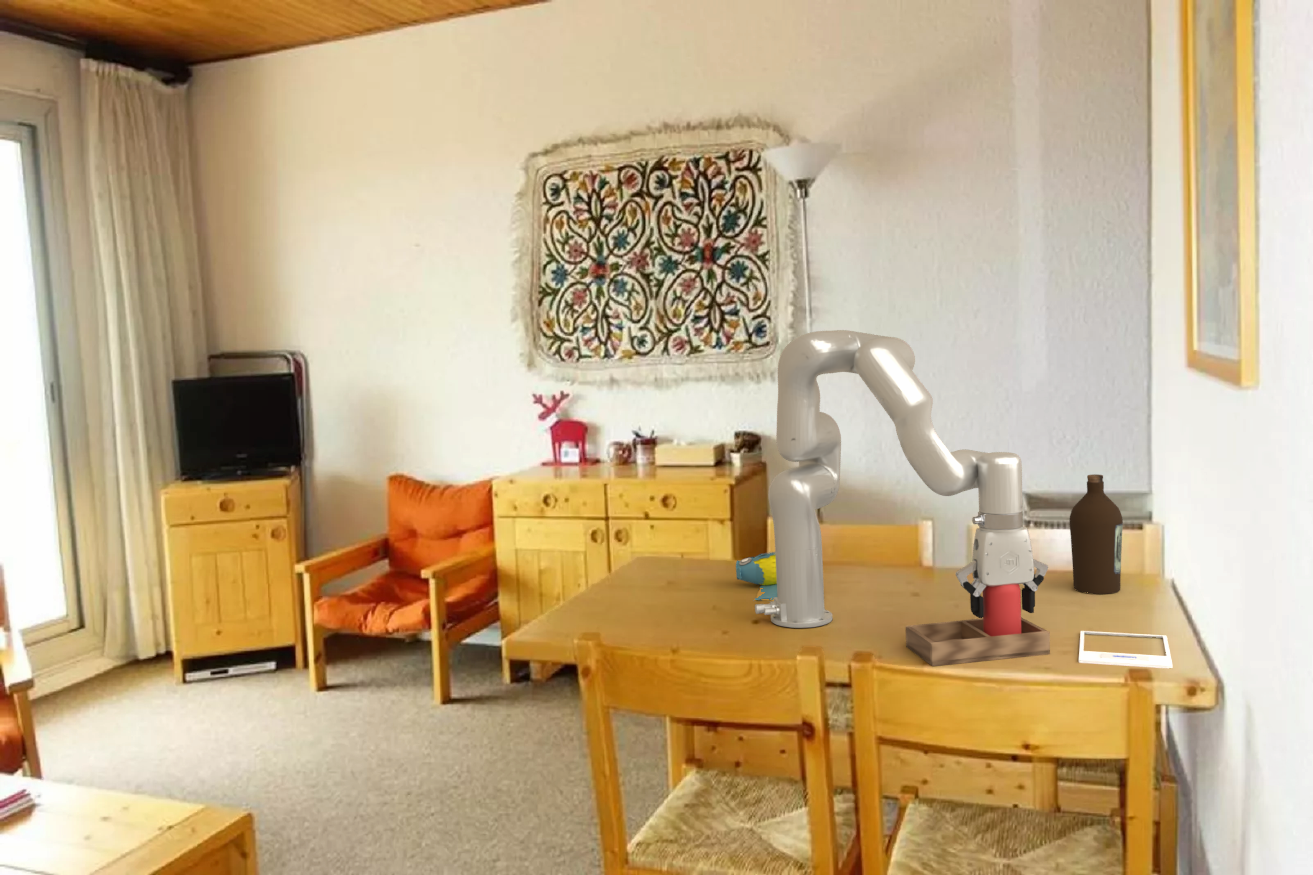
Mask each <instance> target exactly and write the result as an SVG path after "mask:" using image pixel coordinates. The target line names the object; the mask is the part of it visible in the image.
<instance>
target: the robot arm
mask: <svg viewBox="0 0 1313 875" xmlns="http://www.w3.org/2000/svg"><path fill="white" fill-rule="evenodd" d="M915 365H916V356H915V353H914V350H913V349H912V347H911V345H910V344H908V343H907V342H906V341H905V340H904V339H901V338H898V337H894V336H885V335H879V334H874V333H867V332H859V331H854V330H847V329H845V330H844V329H837V330H818V331H812V332H807V333H804V334H801V335H799V336H796V337H795V338H793V339H792V340H791V341H790V342H788V343H787V344H786V345H785V347H784V349H783V350H782V351H781V353H780V356H779V358H778V364H777V406H776V407H777V408H776V432H775V433H776V436H775V438H776V448H777V451H778V453H779V456H781V458H782V459H784V460H785V461H789V462H793V463H797V462H798V466H795V467H792V468H787V469H785V470H783V471H781V472H779V473H778V474H776V475H775V477H773V479H772V481H771V482H770V484H769V487H768V502H769V507H770V513H771V517H772V522H773V533H774V535H773V536H774V550H775V551H774V554H776V576H777V597H775V598H774V601H769V603H765V604H764V603H760V604H759V603H757V604H754V611H755V614H756V615H759V614H763V615H765V616H767V615H768V616H770V621H771V622H772V623H773V624H774V625H777V626H780V627H785V628H791V629H794V628H795V629H805V628H806V629H808V628H815V627H821V626H825V625H827V624H829V623H831V622H832V621H833V613H832V612H831V611H829V610H828V609H825V593H824V588H825V587H824V565H823V562H824V561H823V543H822V542H823V540H822V531H821V525H820V523H819V519H818V516H817V512H816V510H818V509H821V508H824V507H826V506H829V505H831V503H832V502H833V501H834V500H835V499H836V498H837V495H838V493H839V489H840V481H841V462H842V461H841V457H842V456H841V455H842V435H841V431H840V428H839V427H840V426H839V425H838V423H837V421H836V420H835V419H834V418H833V417H832V416H831V415H830V414H828V413H826V412H822V411H821V410H820V409H821V408H820V407H821V393H820V392H821V390H820V386H819V383H818V381H817V379H818V376H821V375H825V374H826V375H827V374H835V373H850V374H855V375H856V374H857V375H859V377H860V378H861V380H862V381H863V383H864V384H865V385H866V387H867V388H868V390H869V391H870V392H871V393H872V395H873V396H874V397H875V399H876V400H877V402H879V404H880V406H881V407H882V409H883V410H884V412H886V414H887V416H889V418H890V419H891V420H892V422H893V424H894V427H895V431H896V435H897V436H896V437H897V438H898V441H899V444H900V447H901V450H902V452H903V454H904V456H905V458H906V460H907V462H908V463H909V465H910V466H911V467H912V469H913V470H914V471H915V472H916V474H917V475H918V476H919V478H920V480H922V482H923V483H924V484H925V485H926V486H927V488H928V489H930V491H932V492H933V493H935V494H936V495H938V496H943V497H952V496H955V495H958V494H960V493H964V492H966V491H969V490H973V489H978V492H977V493H978V512H977V516H972V518H971V521H972V524H973V525H978V527H977V528H976V529H975V533H974V538H973V543H972V544H973V546H972V555H971V556H972V558H971V559H972V560H971V562H969V563H968V564H966V565H964V567H962V568H960V569H959V570H957V571H956V572H955V576H956V578H957V580H958V582H959V584H960V586H961V587H962V588H963V589H964V590H965V591H966V592H967V593H968V594H969V595H970V596H969V598H970V599H969V601H970V602H969V603H970V612H971V613H972V615H973V616H974V617H976V618H977V619H981V618H983V617H984V610H983V595H981V594H983V590H984V589H985V587H986V586H1003V585H1009V584H1013V585H1015V584H1019V585H1022V586H1023V587H1022V589H1021V610H1023V611H1025V612H1027V613H1029V614H1034V613H1035V612H1034V611H1035V606H1036V592H1037V591H1038V588H1039V587H1040V585H1041V584H1042V583H1043V581H1044V579H1045V576H1046V574H1047V572H1048V570H1049V565H1047V564H1046V563H1043V562H1040V561H1039V560H1037V559H1035V558H1034V554H1033V547H1032V540H1031V536H1030V532H1029V529H1028V528H1027V527H1026V526H1024V514H1023V513H1024V512H1023V508H1024V507H1023V472H1022V471H1023V467H1022V459H1021V457H1020V455H1019V454H1017V453H1014V452H1007V451H998V452H997V451H995V452H985V451H984V452H983V451H978V450H973V449H957V450H954V451H950V450H949V449H948V448H947V446H946V445H945V444H944V442H943V441H942V440H941V438H940V436H939V434H938V433H937V431H936V428H935V427H934V424H933V420H932V409H933V404H934V403H933V402H934V401H933V396H932V395H931V393H930V392H929V390H928V389H927V388H926V387H925V385H924V384H923V382H921V381H920V379H919V378H918V376H917V375H916V374H915V372H914V371H913V370H914V367H915ZM1035 569H1036V571H1035ZM971 574H972V579H973V580H972V582H969V579H968V576H969V575H971Z"/></svg>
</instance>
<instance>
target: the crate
mask: <svg viewBox="0 0 1313 875" xmlns="http://www.w3.org/2000/svg"><path fill="white" fill-rule="evenodd" d="M1050 633H1051V632H1050V631H1048V630H1046V629H1044V628H1043V627H1041V626H1039V625H1037V624H1035V623H1033V622H1031V621H1029V620H1027V619H1025V618H1023V617H1022V616H1021V634H1011V635H1001V636H990V635H988V634H986V633H984V632H983V618H974V619H973V618H972V619H963V620H956V621H955V620H953V621H952V620H951V621H943V622H932V623H923V624H913V625H912V624H911V625H905V646H906V648H907V649H908V650H910V651H911V652H913V654H915V655H916V656H918V657H919V658H921V659H922V660H923V661H925V662H926V663H928V664H929V665H930V666H931V667H938V666H940V667H941V666H946V665H950V666H951V665H958V664H967V663H978V662H984V661H985V662H987V661H994V660H1005V659H1015V658H1016V659H1017V658H1025V657H1035V656H1043V655H1045V656H1046V655H1050V654H1051V642H1050V641H1051V640H1050V637H1051V636H1050Z"/></svg>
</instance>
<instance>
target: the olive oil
mask: <svg viewBox="0 0 1313 875" xmlns="http://www.w3.org/2000/svg"><path fill="white" fill-rule="evenodd" d="M1104 486H1105V484H1104V475H1102V474H1096V473H1095V474H1088V475H1087V481H1086V491H1087V492H1086V493H1085V494H1084V496H1082V498H1081V499H1079V500H1078V502H1076V504H1075V505H1074V506H1073V507H1072V509H1071V511H1070V514H1069V531H1070V532H1069V534H1070V546H1071V548H1070V549H1071V559H1072V560H1071V561H1072V580H1073V583H1072V584H1073V589H1074V590H1075V589H1076V590H1075V591H1077V590H1078V591H1077V592H1079V591H1080V592H1079V593H1083V592H1086V593H1085V594H1089V593H1093V594H1092V595H1108V594H1110V595H1111V594H1115V593H1118V592H1120V591H1121V580H1122V579H1121V577H1122V576H1121V574H1122V573H1121V570H1122V548H1123V547H1122V544H1123V528H1124V527H1123V524H1124V523H1123V515H1122V512H1121V509H1119V507H1118V506H1117V504H1115V502H1113V501H1112V500H1111V498H1109V497H1108V496H1107V494H1105V492H1104V490H1105V487H1104ZM1087 592H1088V593H1087Z"/></svg>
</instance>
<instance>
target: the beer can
mask: <svg viewBox="0 0 1313 875" xmlns="http://www.w3.org/2000/svg"><path fill="white" fill-rule="evenodd" d="M982 597H983V610H984V617H983V632H984V633H986V634H988V635H990V636H1001V635H1011V634H1021V617H1022V589H1021V587H1020V584H1015V585H1013V584H1009V585H1003V586H986V587H985V589H984V590H983V591H982Z"/></svg>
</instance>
